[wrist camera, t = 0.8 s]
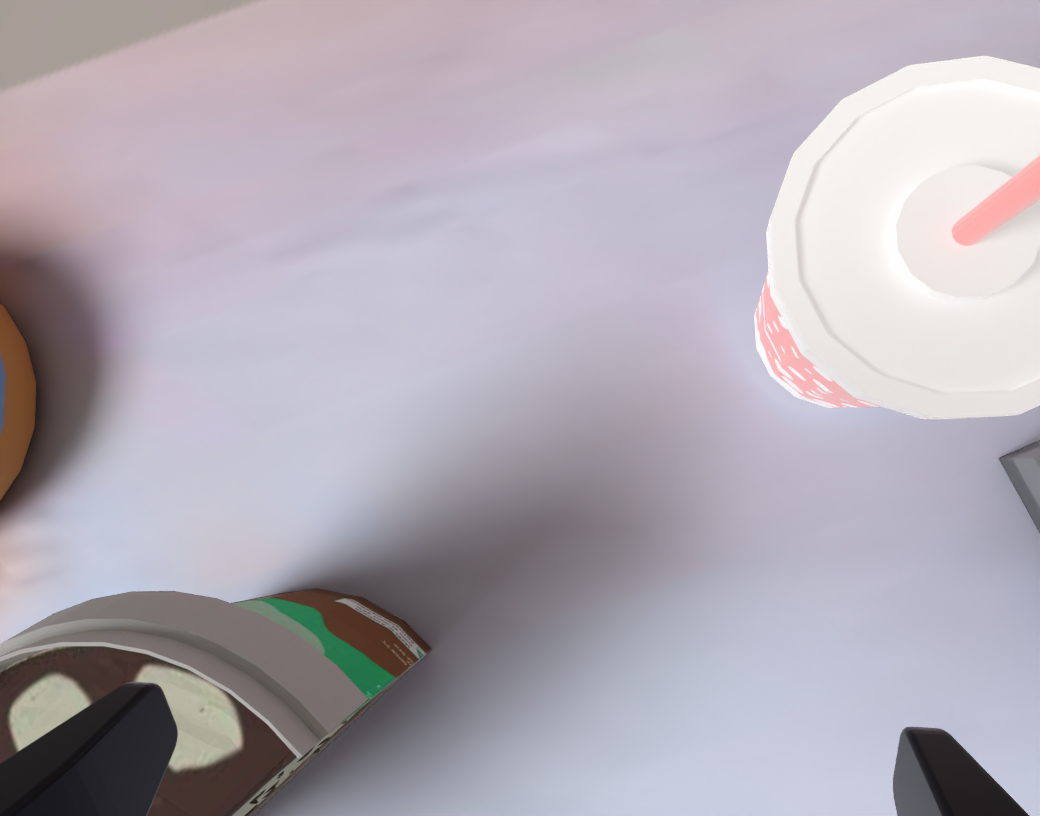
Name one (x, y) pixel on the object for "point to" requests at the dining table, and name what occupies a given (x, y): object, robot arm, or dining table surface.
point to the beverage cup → (912, 247)
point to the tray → (1026, 477)
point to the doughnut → (14, 401)
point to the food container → (213, 682)
